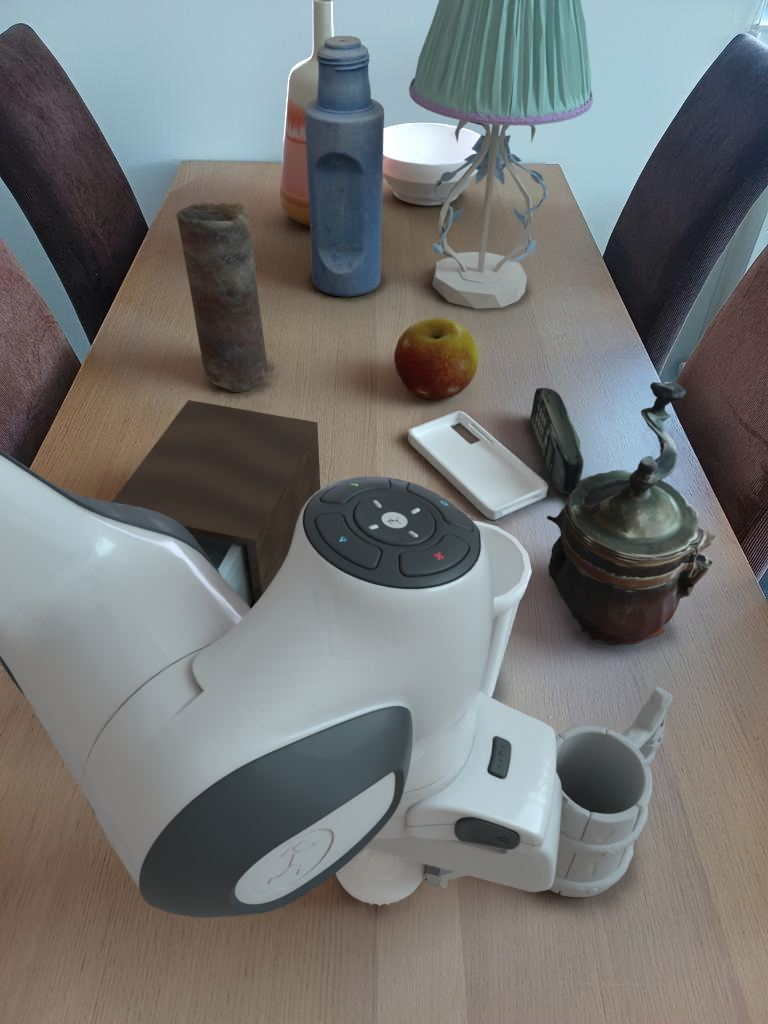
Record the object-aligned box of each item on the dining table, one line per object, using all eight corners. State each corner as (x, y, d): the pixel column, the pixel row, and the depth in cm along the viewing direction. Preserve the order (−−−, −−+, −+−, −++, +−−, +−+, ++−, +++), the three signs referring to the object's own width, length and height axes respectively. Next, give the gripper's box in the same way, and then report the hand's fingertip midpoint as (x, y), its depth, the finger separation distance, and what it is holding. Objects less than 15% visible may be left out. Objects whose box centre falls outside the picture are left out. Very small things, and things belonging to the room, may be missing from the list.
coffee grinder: (673, 546, 76) (734, 385, 63) (683, 673, 65) (758, 510, 53) (537, 524, 77) (570, 364, 65) (525, 645, 67) (562, 481, 54)
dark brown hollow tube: (190, 381, 94) (161, 212, 80) (227, 352, 98) (206, 188, 85) (244, 400, 91) (224, 229, 77) (280, 369, 96) (266, 202, 82)
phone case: (405, 439, 86) (490, 522, 77) (405, 429, 86) (492, 512, 76) (460, 418, 89) (549, 496, 80) (461, 408, 89) (551, 485, 79)
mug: (488, 842, 54) (511, 748, 46) (592, 737, 60) (629, 638, 52) (580, 930, 50) (623, 844, 42) (681, 808, 57) (736, 713, 48)
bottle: (386, 269, 115) (392, 31, 95) (373, 302, 108) (377, 53, 88) (321, 262, 116) (313, 25, 96) (304, 295, 109) (292, 46, 89)
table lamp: (542, 252, 120) (596, -76, 93) (570, 326, 105) (646, -43, 77) (397, 251, 120) (409, -81, 92) (404, 326, 104) (421, -48, 76)
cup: (502, 737, 60) (529, 615, 51) (395, 719, 61) (402, 596, 51) (508, 651, 66) (534, 527, 56) (411, 636, 67) (420, 511, 57)
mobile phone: (531, 384, 86) (567, 471, 75) (558, 383, 87) (598, 470, 75) (524, 422, 90) (558, 511, 78) (551, 421, 90) (588, 509, 79)
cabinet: (265, 620, 68) (255, 540, 62) (129, 590, 70) (105, 509, 64) (321, 500, 79) (317, 422, 73) (202, 477, 81) (188, 399, 75)
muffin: (397, 944, 50) (401, 899, 45) (314, 894, 52) (309, 845, 47) (442, 857, 54) (450, 807, 49) (362, 814, 56) (363, 762, 51)
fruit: (379, 396, 92) (381, 335, 87) (411, 358, 98) (415, 299, 93) (457, 419, 89) (464, 357, 84) (485, 378, 95) (493, 318, 90)
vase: (333, 191, 135) (328, -16, 115) (391, 219, 128) (397, 2, 108) (263, 214, 128) (245, -3, 108) (321, 245, 121) (313, 17, 100)
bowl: (506, 194, 136) (513, 143, 131) (431, 228, 126) (434, 174, 120) (421, 163, 146) (423, 115, 140) (344, 192, 135) (343, 141, 130)
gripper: (171, 748, 41) (206, 864, 50) (577, 850, 37) (533, 955, 47) (220, 651, 45) (244, 775, 55) (586, 734, 42) (544, 851, 51)
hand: (379, 858), depth 51 cm, fingers closed on muffin, 6 cm apart
